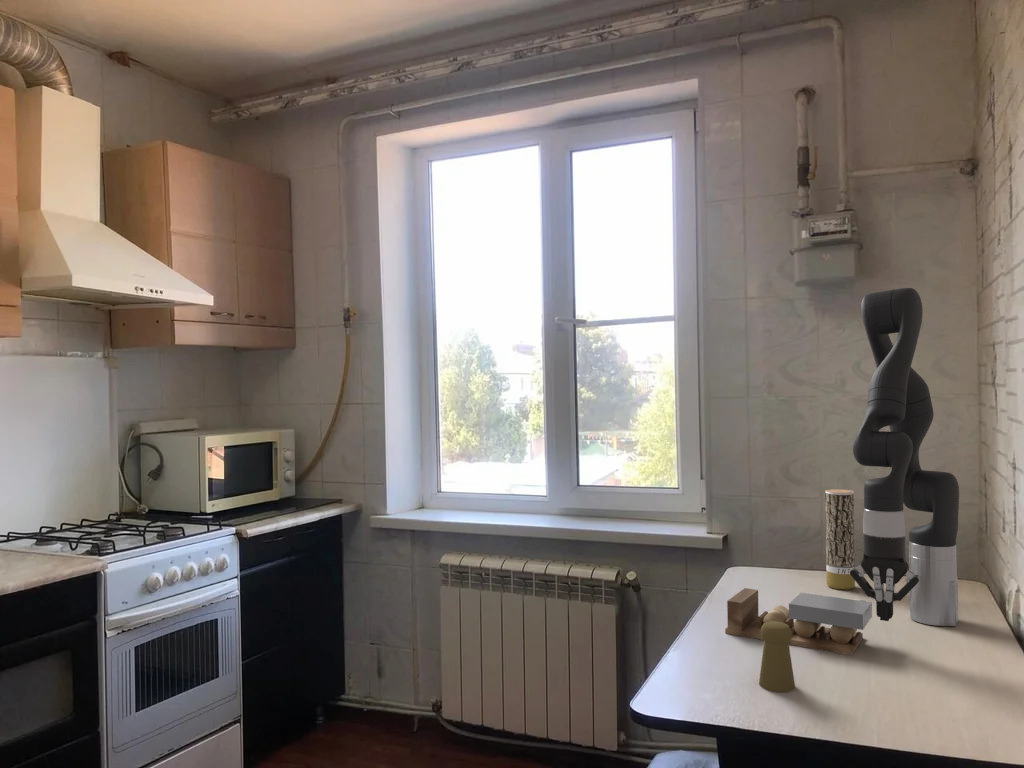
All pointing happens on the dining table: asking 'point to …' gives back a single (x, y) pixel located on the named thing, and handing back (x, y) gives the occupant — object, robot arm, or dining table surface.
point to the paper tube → (840, 538)
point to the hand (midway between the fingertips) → (885, 619)
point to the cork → (776, 658)
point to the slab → (831, 610)
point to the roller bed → (803, 632)
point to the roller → (777, 614)
